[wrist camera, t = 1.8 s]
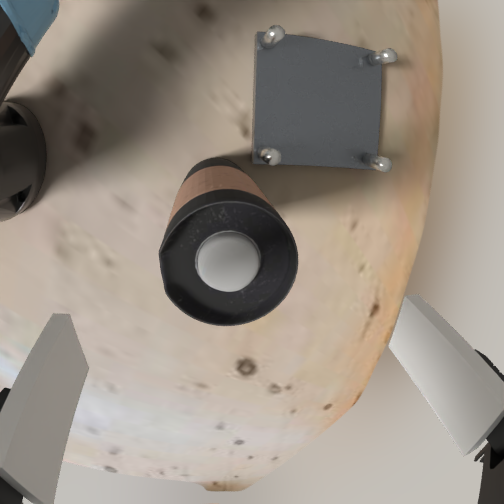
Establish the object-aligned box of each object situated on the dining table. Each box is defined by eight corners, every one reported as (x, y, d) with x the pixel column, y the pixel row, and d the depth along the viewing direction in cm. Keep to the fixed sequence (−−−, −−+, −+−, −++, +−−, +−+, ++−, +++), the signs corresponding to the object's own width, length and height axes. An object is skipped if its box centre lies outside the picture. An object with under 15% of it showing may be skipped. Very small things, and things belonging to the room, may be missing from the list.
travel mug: (262, 185, 35) (328, 261, 17) (218, 233, 36) (235, 348, 18) (213, 141, 32) (224, 164, 14) (167, 192, 33) (128, 277, 15)
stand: (251, 162, 33) (259, 169, 28) (255, 35, 27) (264, 20, 22) (369, 168, 36) (393, 176, 31) (375, 54, 30) (399, 48, 25)
